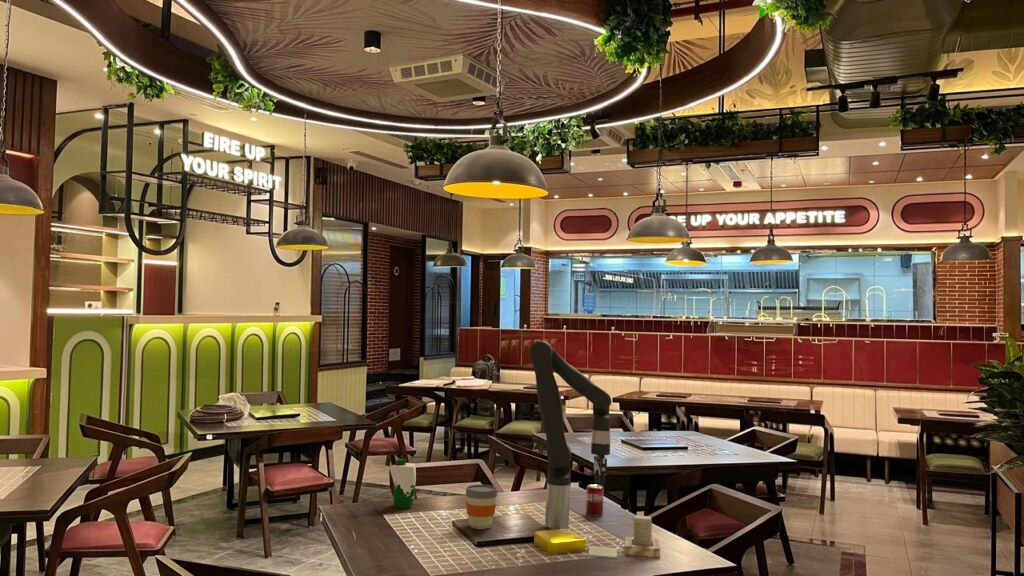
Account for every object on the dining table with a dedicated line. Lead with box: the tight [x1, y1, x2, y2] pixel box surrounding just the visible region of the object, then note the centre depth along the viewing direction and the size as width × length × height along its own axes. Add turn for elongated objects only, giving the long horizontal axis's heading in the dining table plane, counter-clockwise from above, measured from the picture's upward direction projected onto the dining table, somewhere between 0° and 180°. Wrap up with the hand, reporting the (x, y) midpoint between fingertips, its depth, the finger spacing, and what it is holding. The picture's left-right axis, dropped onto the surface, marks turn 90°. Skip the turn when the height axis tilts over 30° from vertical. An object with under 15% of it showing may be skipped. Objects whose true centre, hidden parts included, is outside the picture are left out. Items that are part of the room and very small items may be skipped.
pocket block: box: [624, 536, 661, 559], centre depth 258 cm, size 12×12×3 cm
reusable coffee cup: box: [465, 484, 498, 526], centre depth 283 cm, size 13×13×15 cm
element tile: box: [533, 528, 586, 555], centre depth 261 cm, size 15×15×5 cm
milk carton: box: [393, 458, 417, 510], centre depth 310 cm, size 9×9×20 cm
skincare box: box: [632, 515, 653, 546], centre depth 259 cm, size 6×4×12 cm
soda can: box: [585, 484, 605, 517], centre depth 308 cm, size 7×7×12 cm
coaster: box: [587, 545, 618, 559], centre depth 254 cm, size 10×10×1 cm
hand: (599, 484), depth 282 cm, fingers open, 8 cm apart
